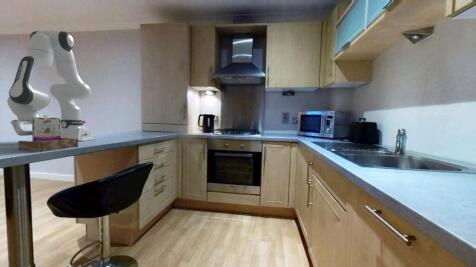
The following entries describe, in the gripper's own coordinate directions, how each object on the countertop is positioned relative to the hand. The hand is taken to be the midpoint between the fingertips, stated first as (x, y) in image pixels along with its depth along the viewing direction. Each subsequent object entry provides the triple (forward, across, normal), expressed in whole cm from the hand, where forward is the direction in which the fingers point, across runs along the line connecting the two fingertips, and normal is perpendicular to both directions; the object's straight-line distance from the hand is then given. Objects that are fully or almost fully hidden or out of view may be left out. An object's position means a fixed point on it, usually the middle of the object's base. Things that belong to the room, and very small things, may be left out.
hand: (45, 139), depth 126 cm
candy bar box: (+5, -2, +1) cm, 6 cm away
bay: (+4, +1, +2) cm, 5 cm away
